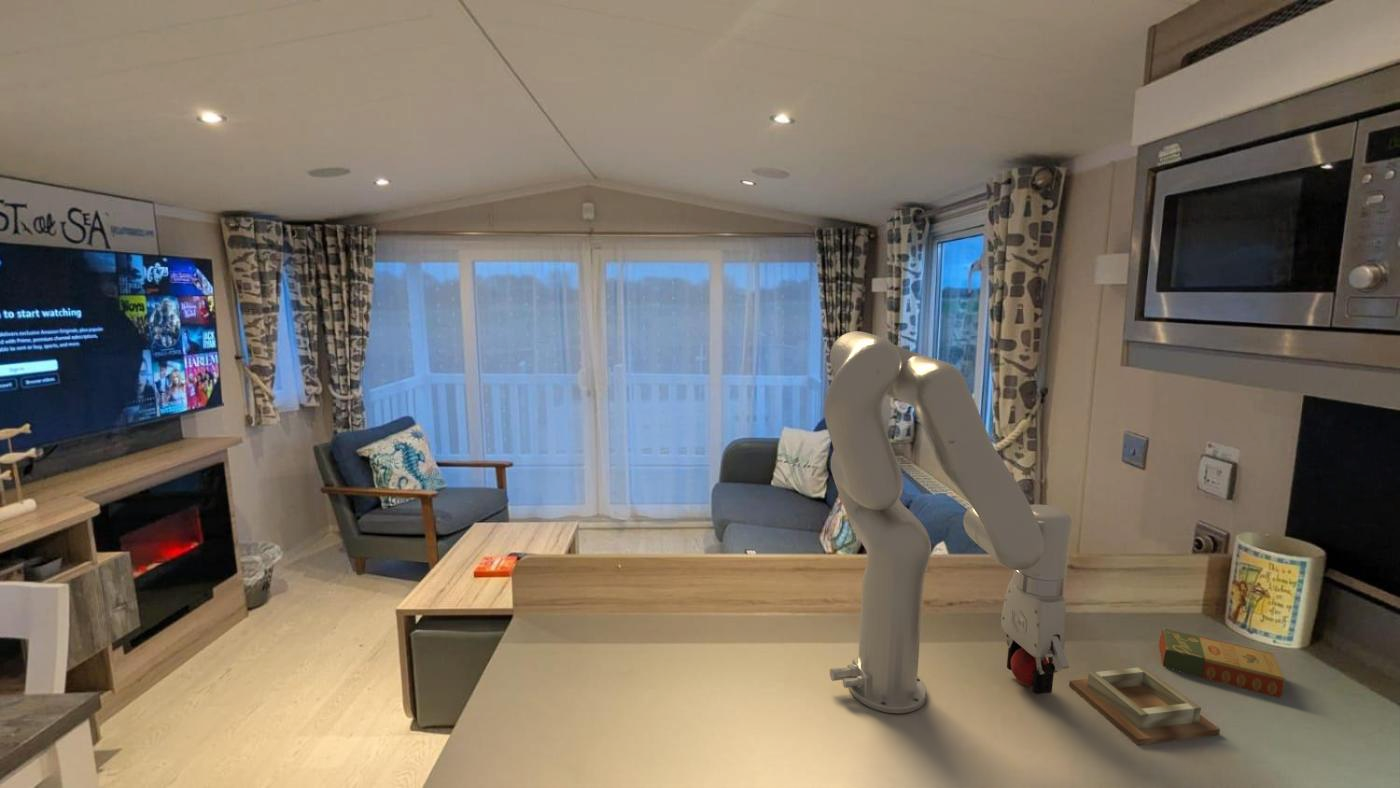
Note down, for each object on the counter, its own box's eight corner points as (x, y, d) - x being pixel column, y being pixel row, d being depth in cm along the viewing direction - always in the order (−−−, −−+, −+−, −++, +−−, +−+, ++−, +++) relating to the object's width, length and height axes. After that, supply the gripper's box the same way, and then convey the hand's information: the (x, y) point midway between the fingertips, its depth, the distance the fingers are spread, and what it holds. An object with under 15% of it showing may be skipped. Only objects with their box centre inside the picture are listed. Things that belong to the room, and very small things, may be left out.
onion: (1032, 701, 103) (1037, 657, 102) (1001, 682, 108) (1005, 639, 107) (1054, 691, 106) (1059, 647, 104) (1023, 672, 111) (1027, 630, 109)
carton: (1281, 701, 104) (1286, 677, 103) (1161, 669, 112) (1164, 647, 111) (1270, 674, 111) (1274, 652, 110) (1158, 646, 119) (1161, 625, 118)
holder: (1137, 745, 93) (1140, 724, 93) (1069, 686, 107) (1071, 667, 106) (1219, 734, 95) (1222, 714, 95) (1141, 677, 109) (1144, 659, 108)
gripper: (986, 559, 111) (978, 652, 114) (1054, 609, 94) (1043, 717, 98) (1024, 556, 112) (1015, 649, 116) (1099, 605, 96) (1086, 711, 99)
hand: (1028, 679), depth 107 cm, fingers closed on onion, 5 cm apart
